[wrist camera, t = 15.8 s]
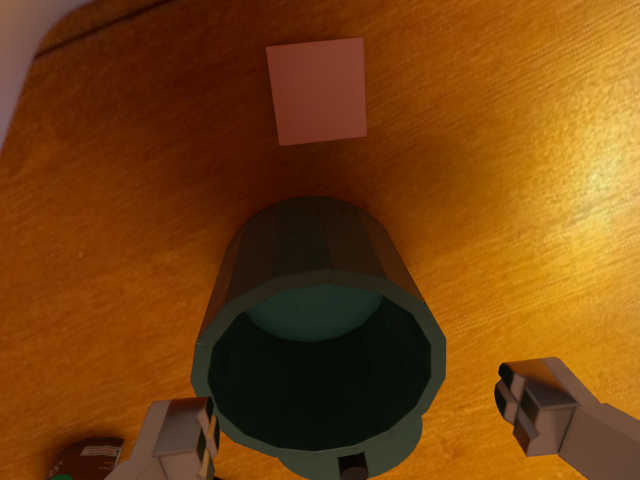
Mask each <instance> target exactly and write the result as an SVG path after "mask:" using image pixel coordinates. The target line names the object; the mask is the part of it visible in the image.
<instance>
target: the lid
mask: <svg viewBox="0 0 640 480" xmlns="http://www.w3.org/2000/svg"><path fill="white" fill-rule="evenodd" d="M422 426H423V424H422V417H419V418H418V419H417V420H416V421H415V422H414V423H412V424H411V425H410V426H409V427H408V428H407V429H405V430H404V431H403V432H402V433H401V434H400V435H398V436H397V437H395V438H393V439H391V440H388V441H386V442H384V443H382V444H379V445H377V446H375V447H372V448H370V449H368V450H366V451H363V452H361V453H358V454H354V455H348V456H342V457H336V458H329V459H323V460H317V461H316V460H303V459H292V458H281V457H278V459H279V460H280V461H281V462H282V464H283V465H284V466H285V467H287V468H288V469H289V470H290V471H292V472H294V473H296V474H297V475H300V476H302V477H304V478H307V479H310V480H367V479H369V478H372V477H375V476H378V475H380V474H383V473H385V472H387V471H389V470H391V469H392V468H394V467H396V466H397V465H399V464H400V463H401V462H403V461H404V460H405V459H406V458H407V457H408V456H409V455H410V454H411V453H412V452H413V450H414V449H415V447H416V446H417V444H418V442H419V440H420V437H421V434H422Z"/></svg>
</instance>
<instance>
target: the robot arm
mask: <svg viewBox="0 0 640 480" xmlns="http://www.w3.org/2000/svg"><path fill="white" fill-rule="evenodd" d="M498 373H499V375H500V377H501V378H502V379H501V380H500V381H499V382H498V383H497V384H496V385H495V391H494V395H495V401H496V404H497V407H498V410H499V412H500V413H501V415H502V417H503V418H504V419H505V420H506V421H507V422H509V423H510V424H512V425H513V426H514V428H513V435H514V437H515V438H516V440H517V442H518V443H519V445H520V446H521V448H522V450H523V451H524V453H525V455H526V456H527V457H530V456H541V455H551V454H559V455H558V456H559V457H561V458H562V459H563V460H564V461H566V462H567V463H568V464H570V465H571V466H572V467H573V468H575V469H576V470H577V471H578V472H580V473H581V474H582V475H583V476H585V477H586V478H587V479H589V480H640V421H639V420H637V419H635V418H634V417H632V416H630V415H628V414H626V413H624V412H622V411H620V410H618V409H616V408H615V407H613V406H611V405H609V404H607V403H603V404H601V403H600V402H599V401H598V400H597V399H596V398H595V397H594V396H593V395H592V393H591V392H590V391H589V390H588V389H587V388H586V387H585V386H584V385H583V384H582V383H581V382H580V380H579V379H578V378H577V377H576V376H575V375H574V374H573V373H572V372H571V371H570V370H569V368H568V367H567V366H566V365H565V364H564V363H563V362H562V361H561V360H560V359H558V358H557V357H549V358H540V359H530V360H522V361H514V362H506V363H502V364H501V365H500V367H499V371H498ZM213 408H214V403H213V400H212V397H211V396H205V397H194V398H182V399H173V400H162V401H154V402H153V403H152V404H151V406H150V407H149V409H148V412H147V414H146V417H145V419H144V422H143V425H142V427H141V430H140V432H139V435H138V437H137V440H136V443H135V445H134V448H133V450H132V453H131V455H130V458H129V460H125V461H122V462H121V463H120V464H119V465H118V466H117V467H116V468H115V469H114V470H113V471H112V472H111V473H110V474H109V475H108V476H107V477H106V478H105V479H104V480H213V478H214V472H215V469H214V465H213V462H212V460H213V458H214V457H215V456H216V455H217V453H218V448H219V436H220V429H219V422H218V418H217V416H216V415H215V414H213Z"/></svg>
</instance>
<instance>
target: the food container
mask: <svg viewBox="0 0 640 480" xmlns="http://www.w3.org/2000/svg"><path fill="white" fill-rule="evenodd" d="M123 443H124V440H121V439H114V438H100V439H90V440H86V441H82V442H78V443H75V444H74V445H72V446H70V447H69V448H67V449H65V450H64V451H63V452H62V454H61V455H60V456H59V458H58V459H57V461H56V462H55V464H54V465H53V467H52V468H51V470H50V471H49V473H48V474H47V476H46V477H45V479H44V480H104V479H105V478H106V477H107V476H108V475H109V474H110V473H111V472H112V471H113V470H114V469H115V468H116V465H117V462H118V459H119V456H120V453H121V449H122V446H123Z"/></svg>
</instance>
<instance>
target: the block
mask: <svg viewBox="0 0 640 480" xmlns="http://www.w3.org/2000/svg"><path fill="white" fill-rule="evenodd" d="M265 49H266V56H267V63H268V70H269V77H270V84H271V91H272V98H273V105H274V112H275V119H276V126H277V133H278V140H279V146H288V145H297V144H306V143H315V142H324V141H333V140H342V139H351V138H360V137H367V115H366V87H365V59H364V37H354V38H344V39H335V40H325V41H315V42H306V43H296V44H287V45H277V46H267V47H266V48H265Z"/></svg>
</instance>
